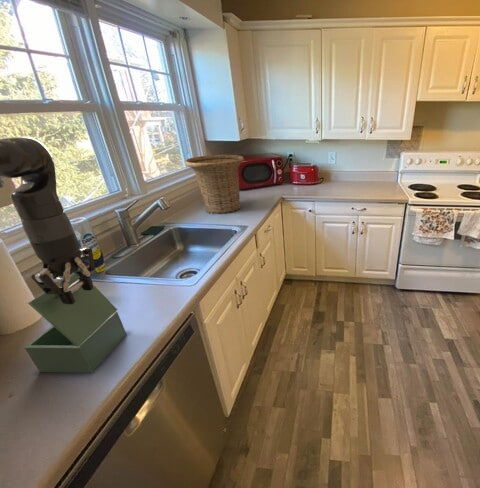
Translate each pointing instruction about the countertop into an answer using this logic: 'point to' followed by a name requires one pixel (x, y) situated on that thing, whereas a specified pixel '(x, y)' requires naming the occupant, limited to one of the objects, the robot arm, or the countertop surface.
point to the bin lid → (75, 311)
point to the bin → (75, 348)
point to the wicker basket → (218, 181)
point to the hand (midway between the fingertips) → (79, 296)
